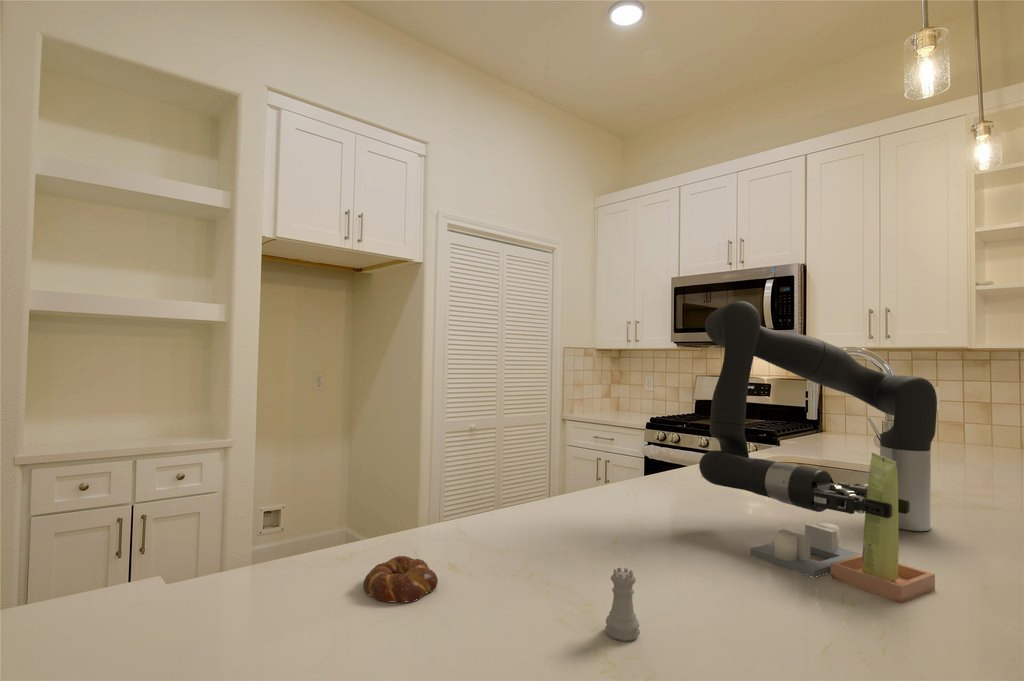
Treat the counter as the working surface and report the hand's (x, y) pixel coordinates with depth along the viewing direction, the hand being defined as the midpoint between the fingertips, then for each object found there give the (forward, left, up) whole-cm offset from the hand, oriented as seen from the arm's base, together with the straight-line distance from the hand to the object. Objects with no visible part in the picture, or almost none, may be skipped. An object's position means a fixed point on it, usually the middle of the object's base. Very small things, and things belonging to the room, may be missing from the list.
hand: (899, 509), depth 88 cm
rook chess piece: (+49, -10, -13) cm, 52 cm away
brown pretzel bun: (+70, -37, -13) cm, 80 cm away
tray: (0, -3, -13) cm, 13 cm away
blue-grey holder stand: (0, -15, -13) cm, 20 cm away
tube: (0, -3, -12) cm, 12 cm away
